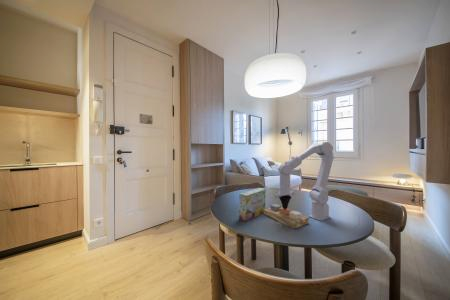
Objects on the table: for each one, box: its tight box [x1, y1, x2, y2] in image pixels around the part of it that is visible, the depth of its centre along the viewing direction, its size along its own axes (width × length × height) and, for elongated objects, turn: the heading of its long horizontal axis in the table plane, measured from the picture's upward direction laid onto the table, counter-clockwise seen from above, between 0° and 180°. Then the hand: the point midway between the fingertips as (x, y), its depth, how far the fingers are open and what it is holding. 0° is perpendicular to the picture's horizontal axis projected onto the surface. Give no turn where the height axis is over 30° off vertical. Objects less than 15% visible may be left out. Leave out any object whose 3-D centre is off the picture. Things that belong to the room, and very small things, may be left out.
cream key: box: [289, 210, 302, 220], centre depth 95 cm, size 4×4×4 cm
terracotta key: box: [279, 207, 292, 216], centre depth 102 cm, size 4×4×4 cm
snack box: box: [238, 187, 267, 222], centre depth 106 cm, size 21×6×15 cm, turn 137°
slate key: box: [270, 203, 282, 212], centre depth 108 cm, size 4×4×4 cm
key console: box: [263, 206, 310, 229], centre depth 102 cm, size 12×22×3 cm, turn 30°
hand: (284, 208), depth 101 cm, fingers closed
